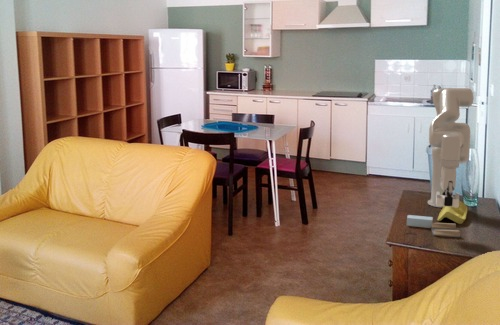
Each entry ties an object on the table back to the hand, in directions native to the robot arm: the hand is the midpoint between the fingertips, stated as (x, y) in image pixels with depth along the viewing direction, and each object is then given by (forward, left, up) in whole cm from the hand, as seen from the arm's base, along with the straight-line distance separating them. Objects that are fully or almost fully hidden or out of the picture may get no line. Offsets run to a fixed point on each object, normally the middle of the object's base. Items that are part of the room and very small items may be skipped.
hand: (447, 203), depth 223 cm
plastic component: (-22, +7, -14) cm, 27 cm away
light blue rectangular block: (-8, -10, -14) cm, 19 cm away
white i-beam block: (0, 0, -1) cm, 1 cm away
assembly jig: (0, 0, -13) cm, 13 cm away
